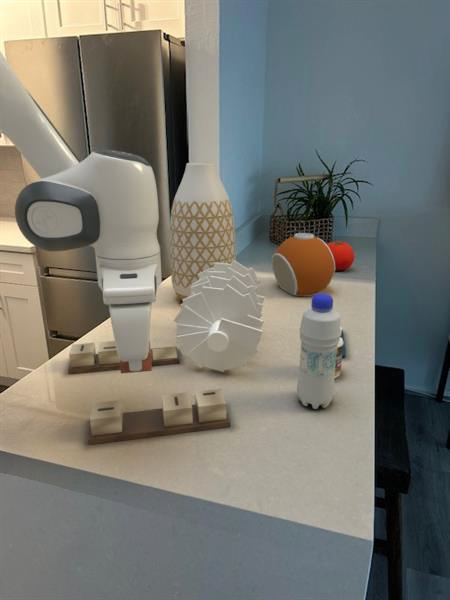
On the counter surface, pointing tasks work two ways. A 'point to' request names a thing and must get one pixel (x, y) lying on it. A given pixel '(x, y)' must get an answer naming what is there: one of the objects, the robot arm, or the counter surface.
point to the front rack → (158, 417)
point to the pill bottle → (338, 357)
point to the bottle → (318, 352)
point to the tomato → (341, 254)
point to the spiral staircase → (221, 318)
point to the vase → (199, 227)
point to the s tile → (145, 364)
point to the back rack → (111, 357)
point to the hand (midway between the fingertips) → (135, 359)
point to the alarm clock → (303, 265)
